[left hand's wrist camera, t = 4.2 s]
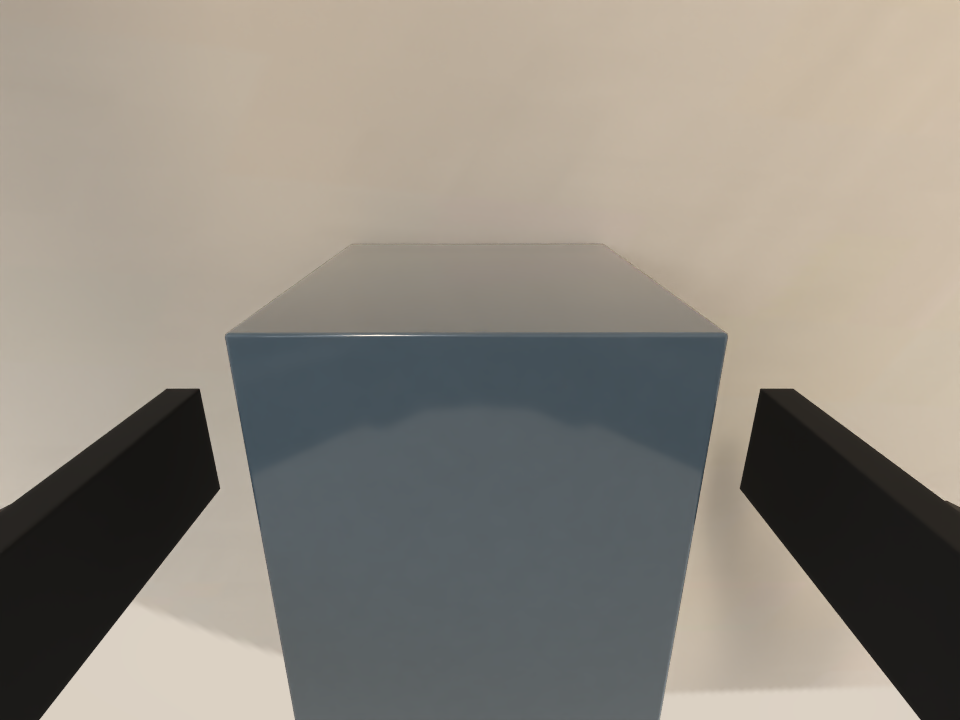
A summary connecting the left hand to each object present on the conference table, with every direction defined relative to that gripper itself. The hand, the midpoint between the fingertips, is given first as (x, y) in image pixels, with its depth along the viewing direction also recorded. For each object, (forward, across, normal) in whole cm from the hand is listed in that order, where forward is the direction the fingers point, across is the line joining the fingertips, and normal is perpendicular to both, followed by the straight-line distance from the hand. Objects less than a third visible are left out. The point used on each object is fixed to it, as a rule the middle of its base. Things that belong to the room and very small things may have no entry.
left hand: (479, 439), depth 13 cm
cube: (+4, 0, 0) cm, 4 cm away
